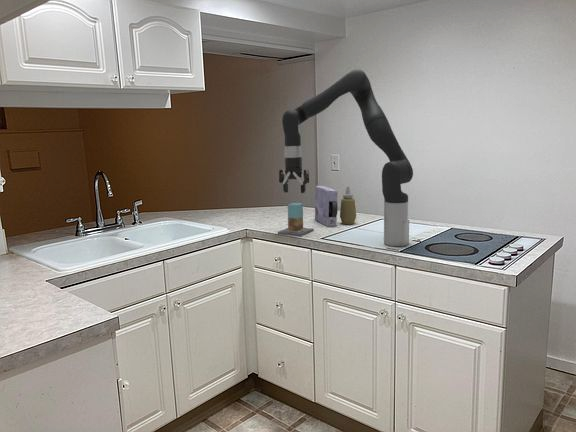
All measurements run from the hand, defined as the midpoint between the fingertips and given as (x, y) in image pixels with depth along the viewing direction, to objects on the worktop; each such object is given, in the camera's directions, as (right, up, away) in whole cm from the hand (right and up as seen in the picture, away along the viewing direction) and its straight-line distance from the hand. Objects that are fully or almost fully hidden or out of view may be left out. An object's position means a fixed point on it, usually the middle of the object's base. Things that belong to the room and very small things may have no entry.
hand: (294, 192), depth 208 cm
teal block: (+1, -11, +2) cm, 11 cm away
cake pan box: (+16, -14, +21) cm, 30 cm away
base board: (+1, -18, +4) cm, 18 cm away
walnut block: (+1, -17, +4) cm, 17 cm away
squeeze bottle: (+27, -14, +19) cm, 36 cm away
